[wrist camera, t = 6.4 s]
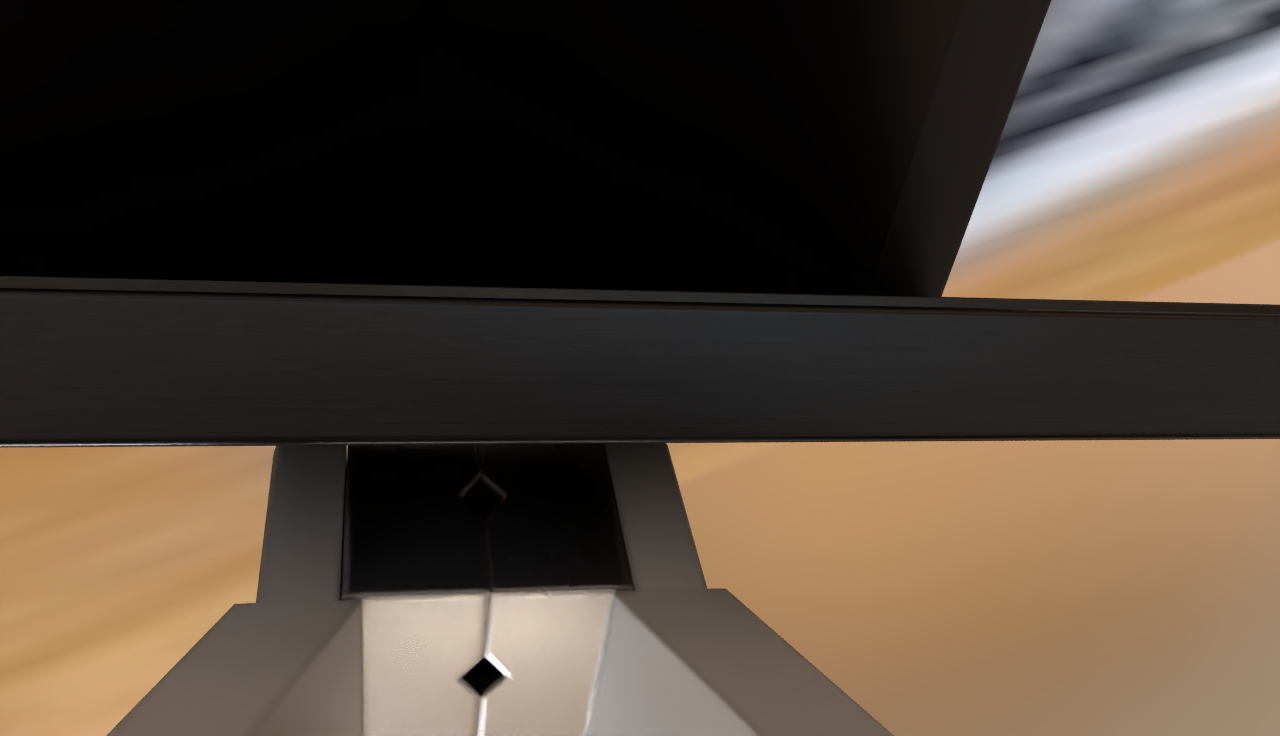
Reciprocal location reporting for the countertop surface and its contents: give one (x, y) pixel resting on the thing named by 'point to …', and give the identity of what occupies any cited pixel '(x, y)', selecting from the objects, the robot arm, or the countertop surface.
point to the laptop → (505, 140)
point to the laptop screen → (613, 366)
